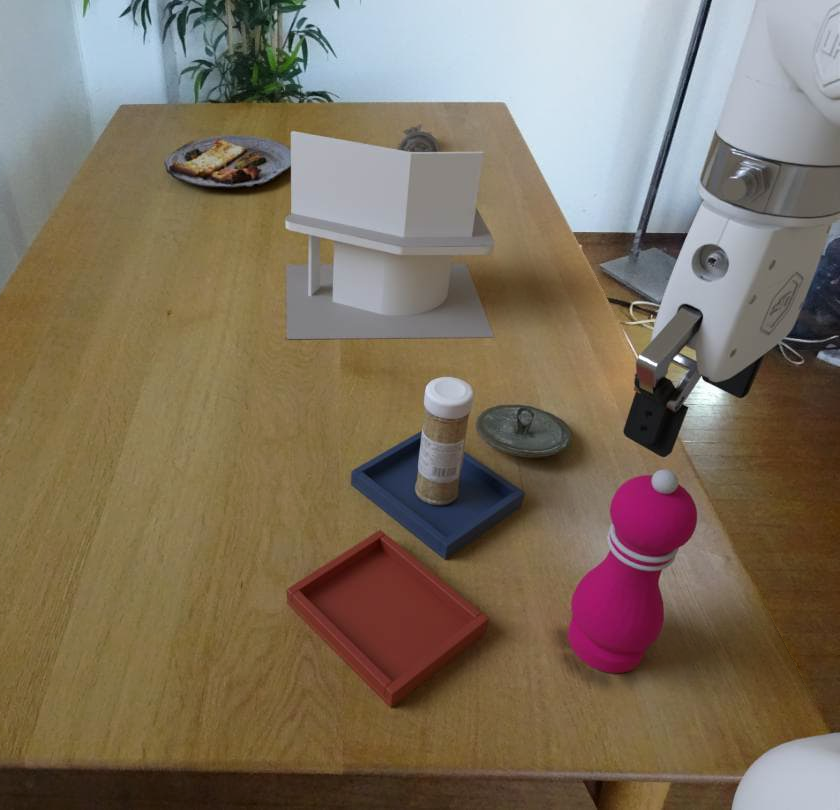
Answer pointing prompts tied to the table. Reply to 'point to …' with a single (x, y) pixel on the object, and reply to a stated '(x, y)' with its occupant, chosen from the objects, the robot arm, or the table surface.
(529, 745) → the table surface
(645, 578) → the pepper mill
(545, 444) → the lid
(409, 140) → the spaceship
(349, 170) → the architectural model
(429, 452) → the sprinkles bottle
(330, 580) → the red tray
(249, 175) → the food plate
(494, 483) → the blue tray
